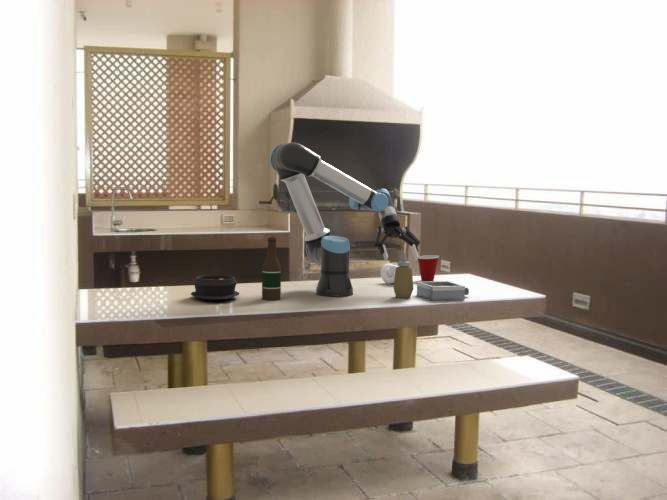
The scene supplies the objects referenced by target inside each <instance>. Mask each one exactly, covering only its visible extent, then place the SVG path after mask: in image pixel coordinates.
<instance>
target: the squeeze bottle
mask: <svg viewBox="0 0 667 500" xmlns="http://www.w3.org/2000/svg"><path fill="white" fill-rule="evenodd" d="M400 259H401V260H400V261H398V262H397V266H399V267H397V268H396V271H395V278H394V283H393V287H392V288H393V292H394V295H395V297H396V298H400V299H410V298H411V297H412V293H413V291H414V279H413V268H412V267H410V266H411V262H410V261H408V258H407V253H406V252H402V255H401V258H400Z"/></svg>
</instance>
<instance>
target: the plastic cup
mask: <svg viewBox="0 0 667 500" xmlns="http://www.w3.org/2000/svg"><path fill="white" fill-rule="evenodd" d="M439 258H440V255H438V254H437V255H436V254H433V255H432V254H426V255H419V257H418V259H417V262H418V267H419V268H418V269H419V273H420V279H421V282H429V281H434V280H435V275H436V271H437V265H438V263H439Z"/></svg>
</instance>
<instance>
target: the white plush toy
mask: <svg viewBox="0 0 667 500" xmlns="http://www.w3.org/2000/svg"><path fill="white" fill-rule="evenodd" d="M397 267H399V266H398V265H396V264H393V263H385V264H384V265H383V266H382V267H381V269H380V276H381V279H382V281H383V282H384V283H385V284H387V285H394V278H395V271H396V268H397Z"/></svg>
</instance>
